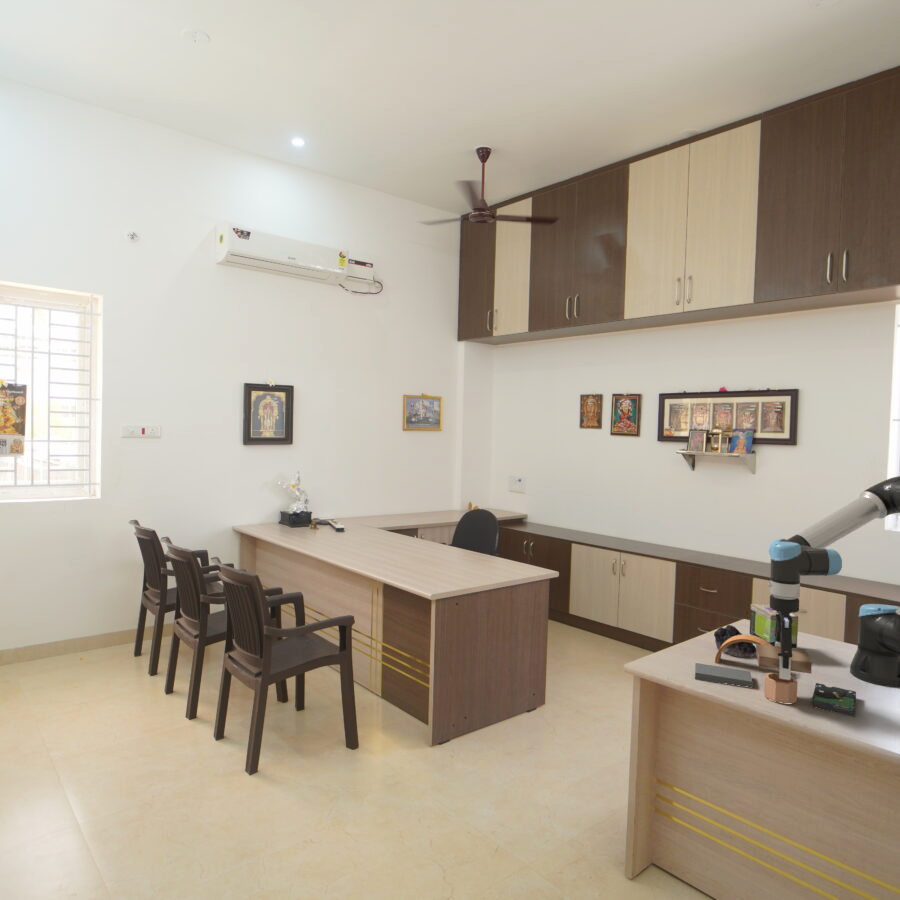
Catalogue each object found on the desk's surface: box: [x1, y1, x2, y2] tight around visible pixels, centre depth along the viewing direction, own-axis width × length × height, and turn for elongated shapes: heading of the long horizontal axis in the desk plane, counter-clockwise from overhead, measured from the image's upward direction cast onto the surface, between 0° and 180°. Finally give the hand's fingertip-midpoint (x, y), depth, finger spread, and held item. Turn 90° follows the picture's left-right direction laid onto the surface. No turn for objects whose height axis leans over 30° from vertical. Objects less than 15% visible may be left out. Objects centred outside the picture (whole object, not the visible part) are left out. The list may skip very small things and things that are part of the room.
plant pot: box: [763, 672, 798, 704], centre depth 181 cm, size 8×8×6 cm
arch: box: [714, 633, 779, 672], centre depth 205 cm, size 6×20×10 cm, turn 57°
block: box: [694, 662, 753, 688], centre depth 195 cm, size 16×9×2 cm, turn 68°
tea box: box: [748, 603, 799, 649], centre depth 222 cm, size 15×10×15 cm
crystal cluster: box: [713, 624, 756, 658], centre depth 221 cm, size 13×14×10 cm
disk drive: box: [811, 682, 857, 718], centre depth 179 cm, size 10×3×15 cm
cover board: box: [755, 644, 813, 674], centre depth 181 cm, size 13×11×3 cm
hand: (782, 671), depth 181 cm, fingers closed on cover board, 11 cm apart
